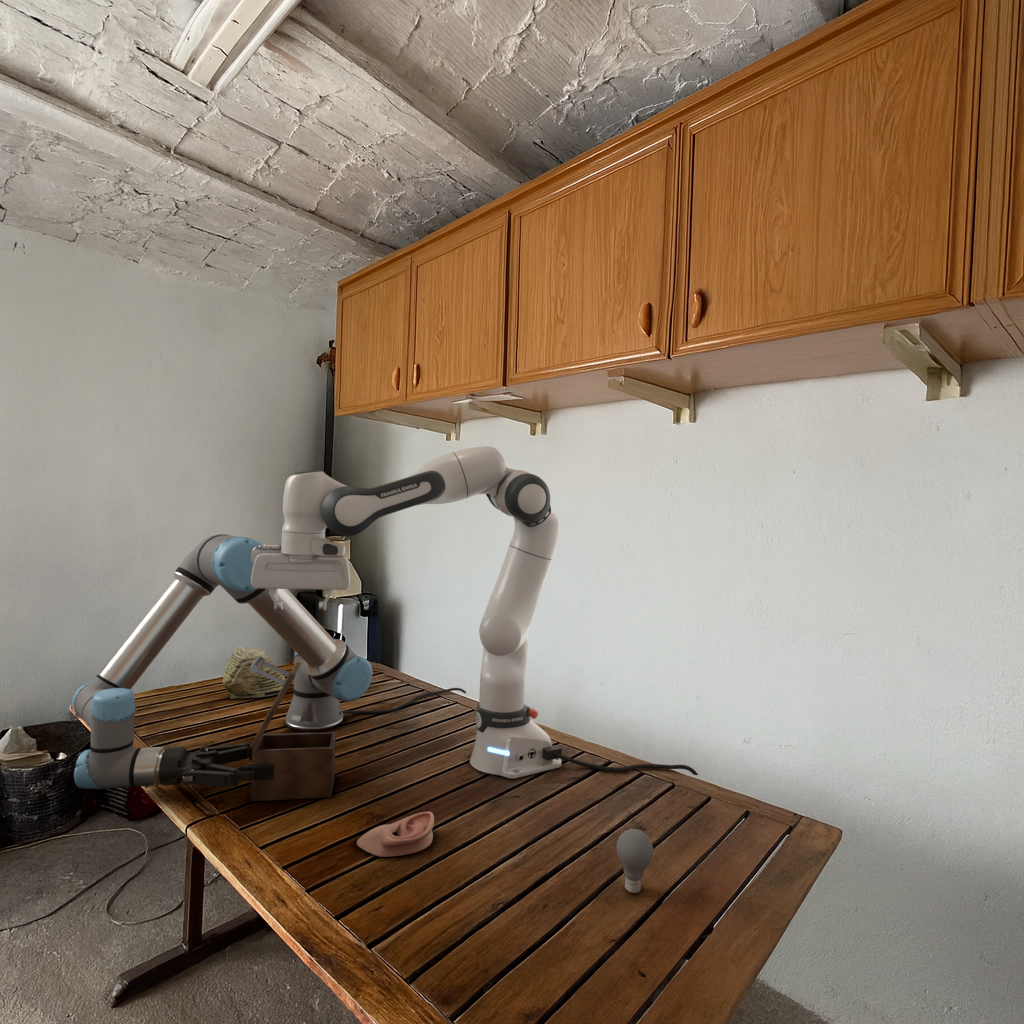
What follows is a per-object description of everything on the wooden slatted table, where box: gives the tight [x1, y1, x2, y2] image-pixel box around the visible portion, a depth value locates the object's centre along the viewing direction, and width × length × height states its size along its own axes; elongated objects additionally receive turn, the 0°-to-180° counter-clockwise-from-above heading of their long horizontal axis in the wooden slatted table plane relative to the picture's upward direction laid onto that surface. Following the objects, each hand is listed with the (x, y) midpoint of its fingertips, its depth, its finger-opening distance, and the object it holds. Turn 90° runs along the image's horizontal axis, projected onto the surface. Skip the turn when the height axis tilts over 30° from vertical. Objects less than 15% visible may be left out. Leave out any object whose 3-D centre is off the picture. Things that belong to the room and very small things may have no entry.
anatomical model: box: [356, 811, 435, 858], centre depth 118 cm, size 13×4×12 cm
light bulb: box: [615, 828, 654, 894], centre depth 106 cm, size 6×6×10 cm
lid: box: [249, 657, 301, 749], centre depth 135 cm, size 17×9×9 cm
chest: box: [250, 731, 337, 802], centre depth 137 cm, size 16×9×10 cm, turn 102°
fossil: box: [222, 646, 287, 699], centre depth 198 cm, size 9×18×15 cm, turn 132°
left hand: (277, 761), depth 136 cm, fingers closed on chest, 9 cm apart
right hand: (300, 609), depth 136 cm, fingers open, 8 cm apart
